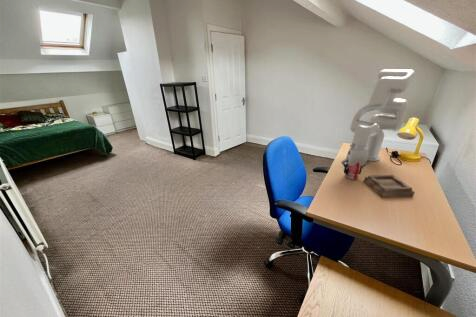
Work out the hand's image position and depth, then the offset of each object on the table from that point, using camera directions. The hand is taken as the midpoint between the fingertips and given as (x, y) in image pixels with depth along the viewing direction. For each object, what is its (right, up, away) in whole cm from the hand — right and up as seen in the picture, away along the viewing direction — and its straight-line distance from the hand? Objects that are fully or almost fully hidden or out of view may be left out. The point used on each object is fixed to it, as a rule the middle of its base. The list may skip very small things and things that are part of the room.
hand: (352, 173), depth 121 cm
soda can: (0, -3, +1) cm, 3 cm away
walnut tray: (+13, -8, -10) cm, 19 cm away
